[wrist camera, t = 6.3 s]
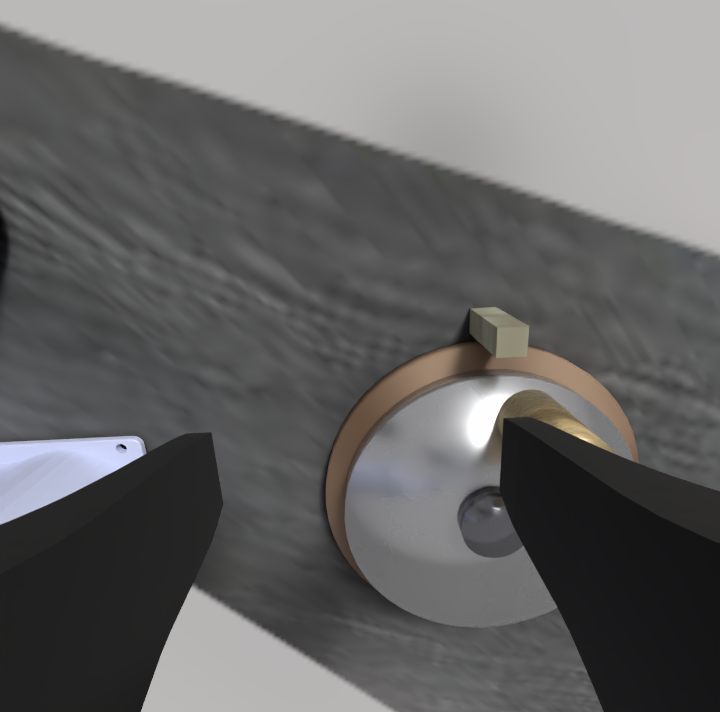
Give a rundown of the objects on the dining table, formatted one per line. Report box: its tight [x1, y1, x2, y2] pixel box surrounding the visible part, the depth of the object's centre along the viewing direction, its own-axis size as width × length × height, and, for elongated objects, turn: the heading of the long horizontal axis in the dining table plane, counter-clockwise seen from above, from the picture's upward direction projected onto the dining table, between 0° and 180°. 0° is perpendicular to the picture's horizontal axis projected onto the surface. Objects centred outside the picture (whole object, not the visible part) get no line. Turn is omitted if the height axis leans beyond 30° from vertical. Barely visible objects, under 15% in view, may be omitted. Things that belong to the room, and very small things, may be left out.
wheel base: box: [326, 307, 639, 587], centre depth 21 cm, size 16×18×4 cm
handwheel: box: [345, 369, 634, 627], centre depth 19 cm, size 14×14×6 cm
